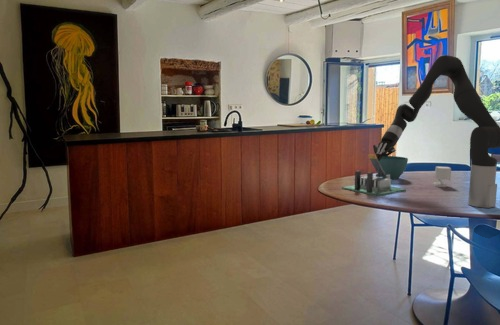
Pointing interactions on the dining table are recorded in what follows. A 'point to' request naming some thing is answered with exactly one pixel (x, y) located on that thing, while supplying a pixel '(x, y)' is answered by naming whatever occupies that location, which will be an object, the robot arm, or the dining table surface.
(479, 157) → the robot arm
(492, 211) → the dining table surface
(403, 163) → the plant pot
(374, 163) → the grey flat bar
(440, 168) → the security camera
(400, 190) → the heatsink board
